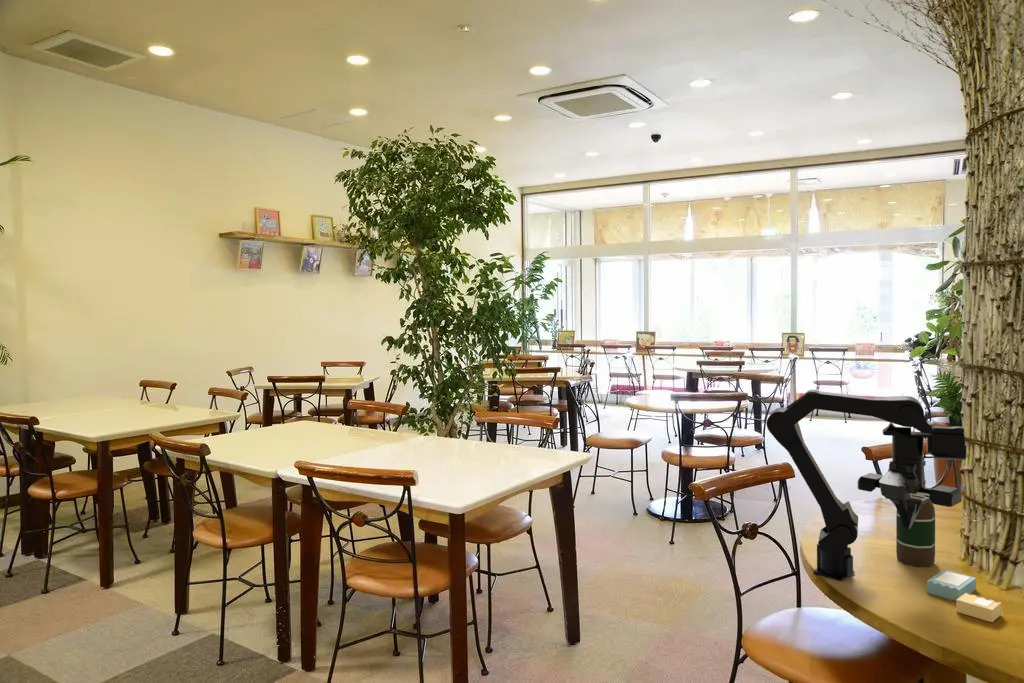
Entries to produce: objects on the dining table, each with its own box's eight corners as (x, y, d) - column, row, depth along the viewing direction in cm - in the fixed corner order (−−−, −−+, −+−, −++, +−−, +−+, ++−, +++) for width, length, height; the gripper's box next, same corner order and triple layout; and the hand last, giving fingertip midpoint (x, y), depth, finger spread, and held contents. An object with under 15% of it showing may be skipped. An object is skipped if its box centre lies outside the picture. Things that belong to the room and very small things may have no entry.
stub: (956, 611, 134) (956, 599, 134) (965, 604, 137) (965, 592, 137) (992, 622, 130) (992, 609, 130) (1001, 614, 133) (1001, 601, 132)
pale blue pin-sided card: (926, 592, 144) (926, 580, 143) (944, 580, 149) (944, 569, 149) (959, 601, 139) (959, 589, 139) (975, 589, 144) (976, 577, 144)
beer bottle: (912, 553, 165) (912, 453, 163) (943, 564, 158) (943, 460, 156) (888, 558, 162) (888, 457, 161) (918, 570, 155) (919, 464, 153)
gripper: (845, 455, 149) (845, 526, 150) (940, 471, 134) (940, 549, 135) (869, 447, 156) (869, 515, 157) (962, 461, 141) (962, 536, 142)
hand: (907, 528), depth 147 cm, fingers closed
